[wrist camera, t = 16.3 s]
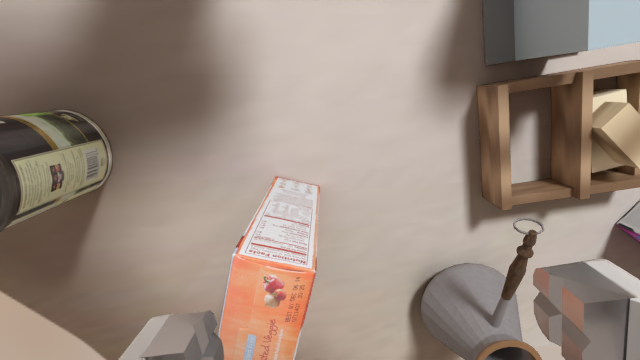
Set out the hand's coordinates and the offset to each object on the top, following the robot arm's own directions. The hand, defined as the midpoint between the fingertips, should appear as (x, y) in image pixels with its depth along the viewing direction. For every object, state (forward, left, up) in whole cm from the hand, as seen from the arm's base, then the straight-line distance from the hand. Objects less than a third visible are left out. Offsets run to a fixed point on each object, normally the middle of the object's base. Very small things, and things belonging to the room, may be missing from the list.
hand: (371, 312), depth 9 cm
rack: (+3, +24, -33) cm, 41 cm away
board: (-10, +22, -32) cm, 40 cm away
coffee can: (-3, -32, -33) cm, 46 cm away
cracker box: (+11, -8, -33) cm, 36 cm away
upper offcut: (+4, +28, -30) cm, 41 cm away
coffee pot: (+18, +13, -33) cm, 40 cm away
